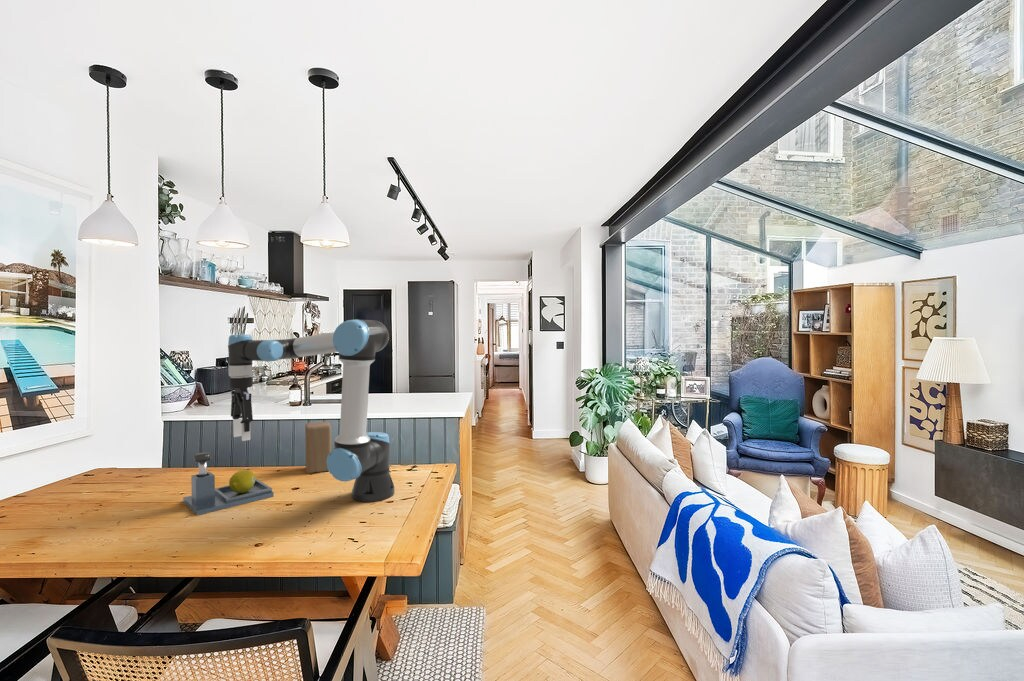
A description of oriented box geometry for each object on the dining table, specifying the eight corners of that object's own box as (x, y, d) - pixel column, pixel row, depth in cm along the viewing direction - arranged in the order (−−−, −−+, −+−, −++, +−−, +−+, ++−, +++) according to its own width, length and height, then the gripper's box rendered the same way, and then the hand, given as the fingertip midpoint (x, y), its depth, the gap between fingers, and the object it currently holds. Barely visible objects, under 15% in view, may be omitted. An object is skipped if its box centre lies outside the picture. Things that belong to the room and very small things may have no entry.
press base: (273, 496, 174) (273, 468, 173) (197, 515, 156) (196, 484, 156) (255, 485, 186) (255, 458, 185) (183, 501, 168) (182, 472, 168)
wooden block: (305, 467, 209) (305, 422, 208) (329, 465, 213) (329, 420, 212) (306, 474, 200) (305, 427, 199) (331, 471, 204) (331, 425, 203)
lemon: (242, 497, 168) (241, 475, 168) (222, 496, 169) (222, 474, 169) (262, 487, 179) (262, 466, 178) (244, 486, 180) (244, 465, 180)
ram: (213, 483, 165) (212, 453, 165) (196, 487, 161) (196, 456, 161) (209, 480, 168) (208, 451, 168) (192, 483, 165) (192, 454, 164)
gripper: (262, 378, 168) (263, 441, 169) (242, 373, 183) (243, 432, 183) (239, 379, 163) (240, 445, 164) (220, 375, 177) (221, 435, 178)
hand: (241, 438), depth 173 cm, fingers open, 8 cm apart
